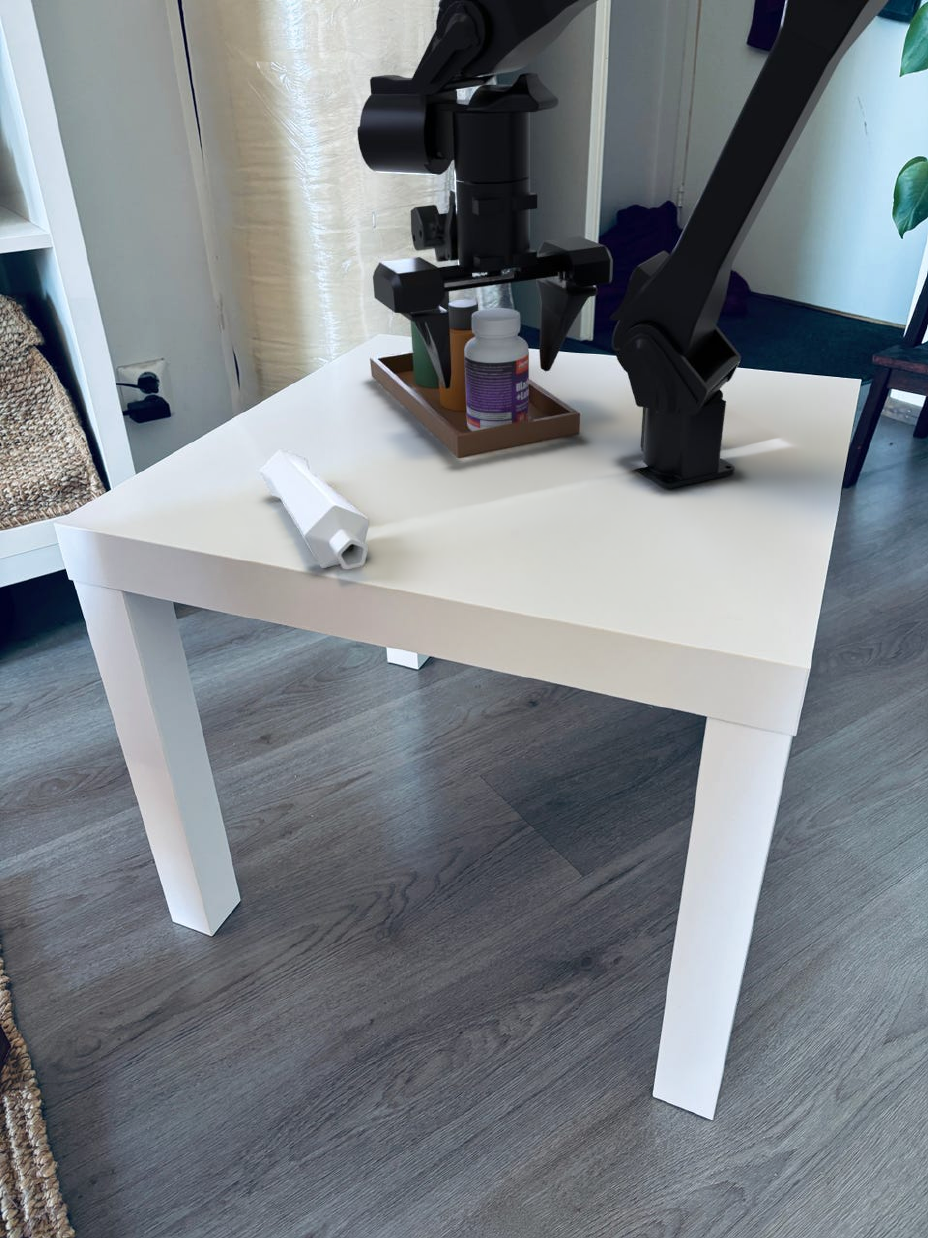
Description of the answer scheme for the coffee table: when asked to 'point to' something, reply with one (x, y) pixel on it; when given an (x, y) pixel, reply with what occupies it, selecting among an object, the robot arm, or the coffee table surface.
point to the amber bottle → (458, 353)
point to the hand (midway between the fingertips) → (496, 378)
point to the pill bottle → (496, 370)
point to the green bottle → (424, 356)
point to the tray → (451, 426)
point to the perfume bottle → (317, 511)
